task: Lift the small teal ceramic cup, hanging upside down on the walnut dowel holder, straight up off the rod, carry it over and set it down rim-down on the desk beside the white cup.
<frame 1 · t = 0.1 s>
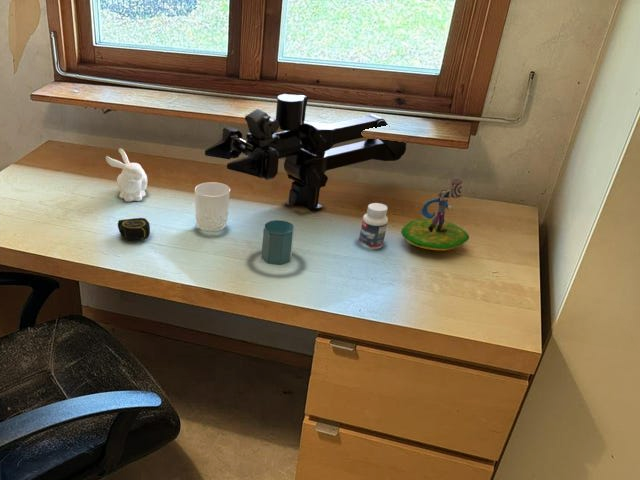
hand: (215, 159, 148), 17 cm above the table, tool horizontal, fingers open, 9 cm apart
rabbit: (131, 197, 174), on the table
pirate figurine: (431, 246, 150), on the table
cup: (276, 257, 144), point 1 cm above the table, touching holder
pill bottle: (370, 245, 151), on the table
white cup: (211, 231, 158), on the table
tape measure: (133, 237, 156), on the table
holder: (275, 263, 145), on the table
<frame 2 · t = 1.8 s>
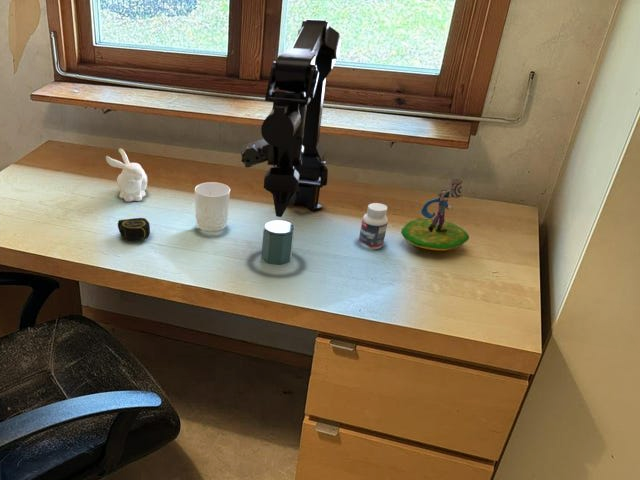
hand: (280, 206, 137), 13 cm above the table, tool pointing down, fingers open, 9 cm apart
nothing on the table moved.
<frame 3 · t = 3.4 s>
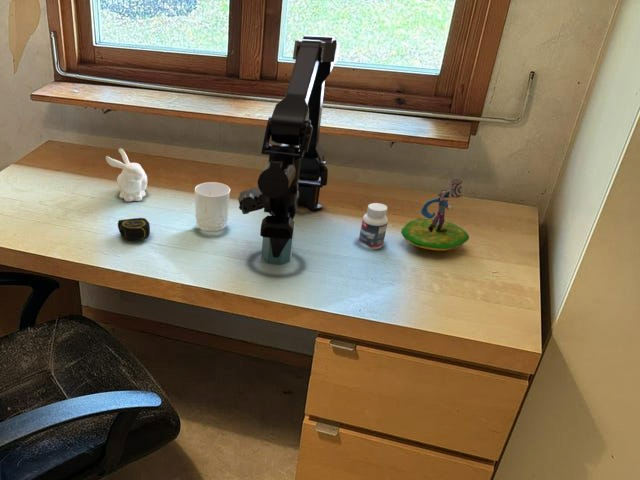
hand: (277, 249, 143), 3 cm above the table, tool pointing down, fingers closed on cup, 6 cm apart
cup: (276, 257, 144), point 2 cm above the table, touching gripper, holder
everything else where it was.
when the fingers open (2 cm above the table, at t = 9.4 s): cup stays where it is, on the table.
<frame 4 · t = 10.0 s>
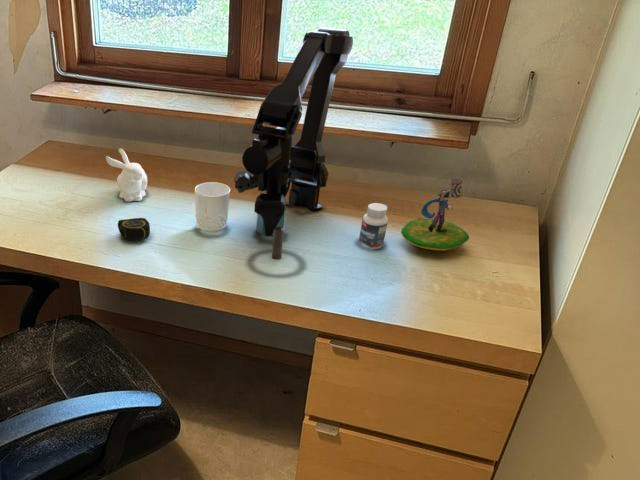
hand: (270, 226, 153), 2 cm above the table, tool pointing down, fingers open, 9 cm apart
cup: (269, 236, 155), on the table
everything else where it was.
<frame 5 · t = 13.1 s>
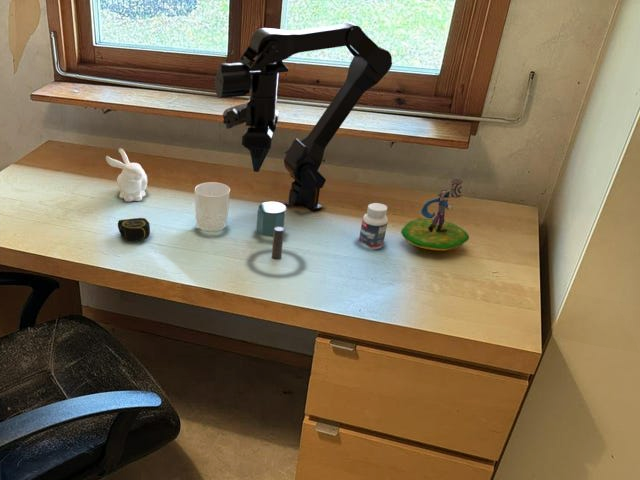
hand: (258, 164, 158), 12 cm above the table, tool pointing down, fingers open, 9 cm apart
nothing on the table moved.
at the end: cup 13.5 cm from the white cup (horizontally); cup on the table; cup tilted 0° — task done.
